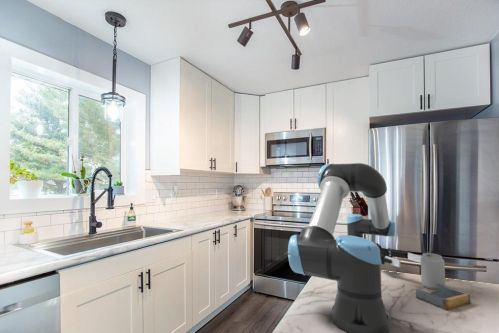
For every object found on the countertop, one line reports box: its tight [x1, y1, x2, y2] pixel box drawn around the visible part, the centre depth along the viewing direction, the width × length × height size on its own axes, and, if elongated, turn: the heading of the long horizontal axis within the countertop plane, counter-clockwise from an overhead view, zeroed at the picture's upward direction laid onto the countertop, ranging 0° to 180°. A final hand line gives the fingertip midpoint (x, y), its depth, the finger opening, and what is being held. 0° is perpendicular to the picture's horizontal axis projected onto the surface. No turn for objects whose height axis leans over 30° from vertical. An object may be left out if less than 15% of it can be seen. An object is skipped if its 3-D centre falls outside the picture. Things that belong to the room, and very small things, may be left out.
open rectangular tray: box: [415, 284, 472, 311], centre depth 90 cm, size 12×10×3 cm
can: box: [420, 252, 446, 291], centre depth 102 cm, size 8×8×12 cm
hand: (411, 261), depth 110 cm, fingers open, 13 cm apart
